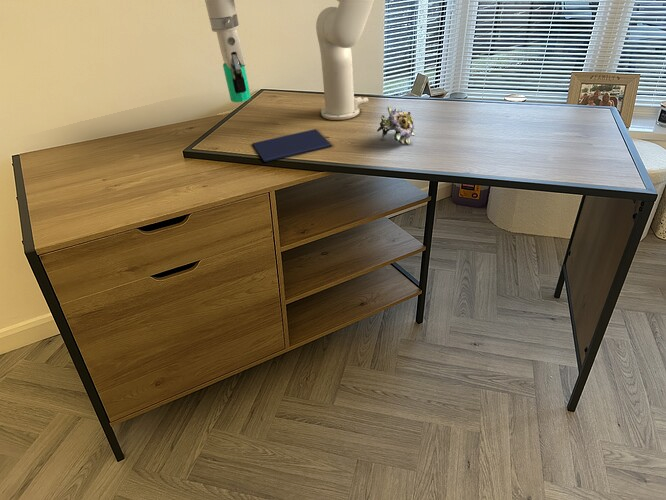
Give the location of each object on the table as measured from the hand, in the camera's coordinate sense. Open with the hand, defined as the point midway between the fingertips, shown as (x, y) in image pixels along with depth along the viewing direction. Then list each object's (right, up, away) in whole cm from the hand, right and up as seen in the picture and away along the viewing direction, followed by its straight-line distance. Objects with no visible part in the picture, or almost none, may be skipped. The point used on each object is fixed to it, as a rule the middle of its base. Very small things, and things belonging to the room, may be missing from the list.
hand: (238, 88), depth 142 cm
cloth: (+16, -17, -2) cm, 23 cm away
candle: (0, -3, +2) cm, 3 cm away
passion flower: (+46, -17, -5) cm, 49 cm away
